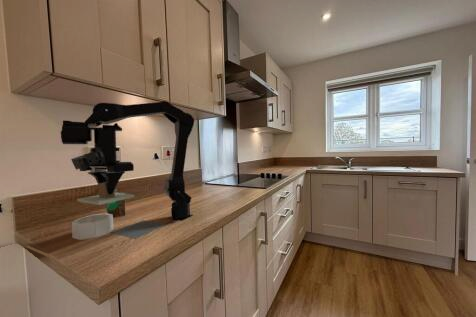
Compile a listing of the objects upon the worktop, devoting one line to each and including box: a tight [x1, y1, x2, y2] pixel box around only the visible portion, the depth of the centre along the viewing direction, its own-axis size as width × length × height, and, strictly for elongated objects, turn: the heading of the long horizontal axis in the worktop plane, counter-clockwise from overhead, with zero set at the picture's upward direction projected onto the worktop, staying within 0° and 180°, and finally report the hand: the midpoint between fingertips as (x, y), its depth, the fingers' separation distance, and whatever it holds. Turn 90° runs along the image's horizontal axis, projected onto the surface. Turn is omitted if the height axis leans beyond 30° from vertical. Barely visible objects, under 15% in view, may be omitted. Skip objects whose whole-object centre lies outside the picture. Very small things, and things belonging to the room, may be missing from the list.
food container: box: [105, 188, 126, 219], centre depth 81 cm, size 12×6×10 cm, turn 45°
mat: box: [110, 219, 168, 239], centre depth 65 cm, size 12×12×1 cm
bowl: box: [71, 212, 114, 241], centre depth 63 cm, size 10×10×5 cm
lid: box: [77, 182, 135, 206], centre depth 63 cm, size 11×11×5 cm
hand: (107, 193), depth 63 cm, fingers closed on lid, 3 cm apart
